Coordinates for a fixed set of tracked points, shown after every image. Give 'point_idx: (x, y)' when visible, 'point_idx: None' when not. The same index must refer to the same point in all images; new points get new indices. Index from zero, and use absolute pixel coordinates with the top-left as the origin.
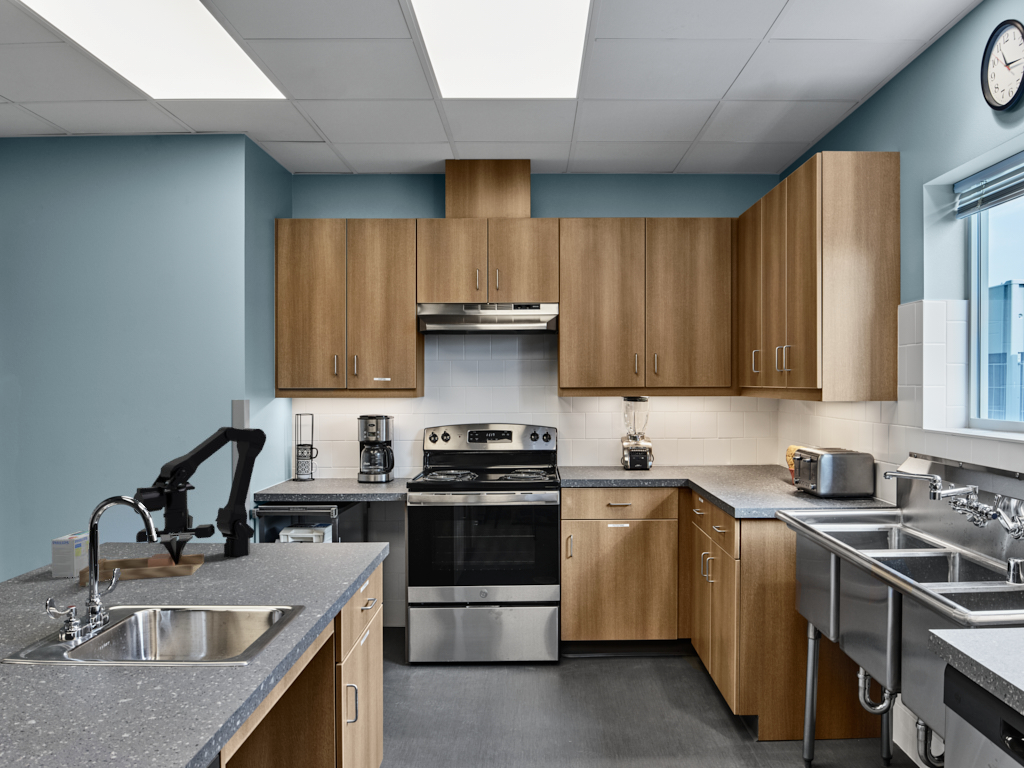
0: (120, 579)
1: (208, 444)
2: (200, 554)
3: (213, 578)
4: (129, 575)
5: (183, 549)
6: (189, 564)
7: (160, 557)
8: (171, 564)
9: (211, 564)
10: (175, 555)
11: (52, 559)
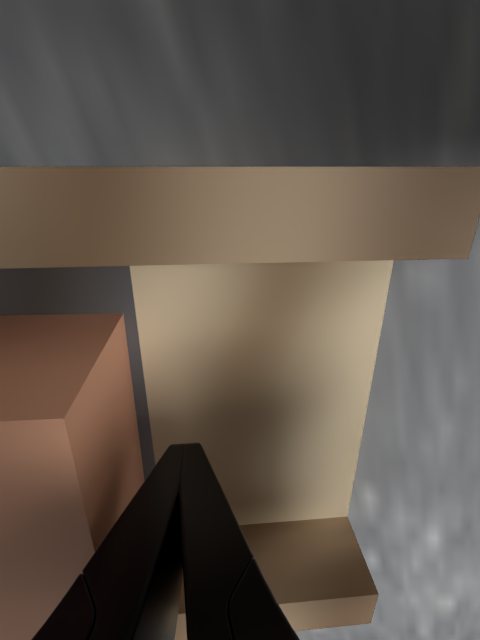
0: None
1: None
2: (439, 217)
3: (461, 530)
4: None
5: (267, 584)
6: (352, 601)
7: None
8: (123, 446)
9: (464, 116)
10: (176, 595)
11: None
